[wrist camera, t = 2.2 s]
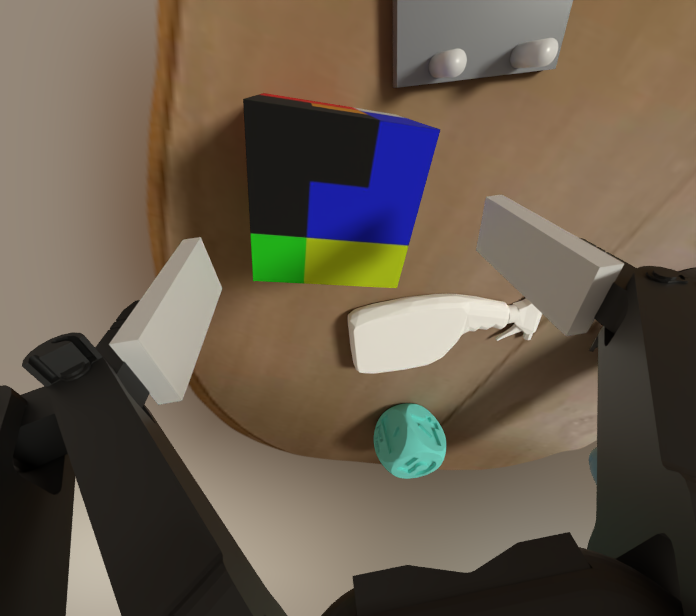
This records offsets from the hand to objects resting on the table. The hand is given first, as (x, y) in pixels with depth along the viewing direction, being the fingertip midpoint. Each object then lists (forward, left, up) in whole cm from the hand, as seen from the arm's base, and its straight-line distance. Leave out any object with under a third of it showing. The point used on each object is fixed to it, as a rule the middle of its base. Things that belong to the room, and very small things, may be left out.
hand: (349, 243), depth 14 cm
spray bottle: (-20, -12, -15) cm, 28 cm away
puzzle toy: (0, 0, -15) cm, 15 cm away
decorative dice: (-39, -7, -15) cm, 42 cm away
